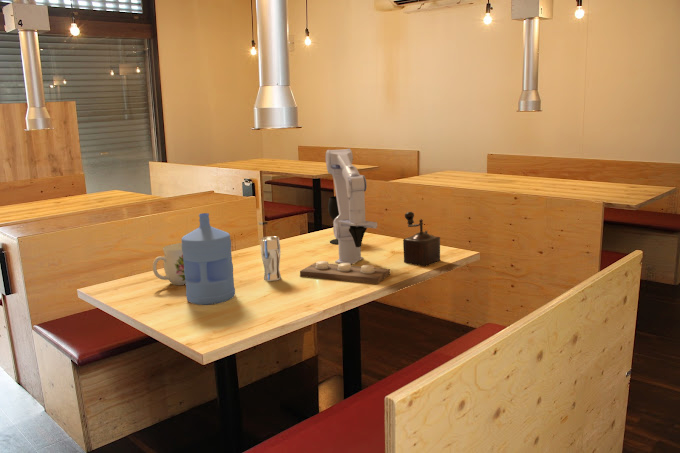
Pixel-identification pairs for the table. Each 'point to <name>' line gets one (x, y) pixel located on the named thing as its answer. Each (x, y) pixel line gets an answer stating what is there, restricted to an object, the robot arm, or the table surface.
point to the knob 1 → (322, 265)
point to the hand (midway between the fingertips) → (358, 246)
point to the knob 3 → (367, 269)
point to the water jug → (208, 264)
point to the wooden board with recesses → (345, 274)
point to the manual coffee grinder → (420, 245)
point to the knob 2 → (344, 267)
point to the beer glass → (271, 257)
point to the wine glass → (333, 213)
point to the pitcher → (172, 264)
